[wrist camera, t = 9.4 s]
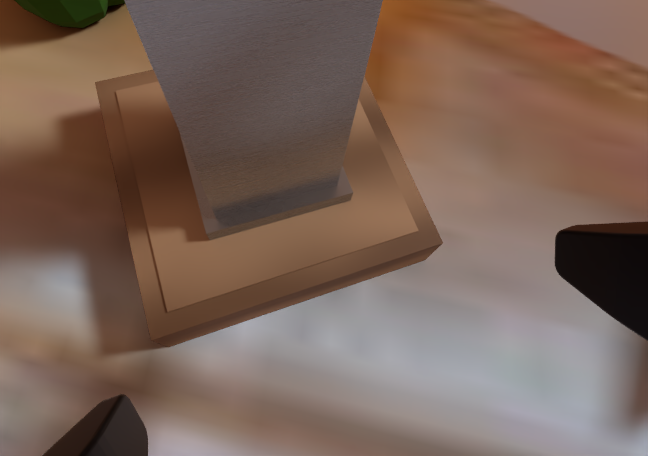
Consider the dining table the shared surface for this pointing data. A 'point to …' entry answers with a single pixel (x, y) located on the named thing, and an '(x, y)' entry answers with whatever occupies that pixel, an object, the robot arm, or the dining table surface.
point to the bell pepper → (69, 10)
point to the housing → (260, 99)
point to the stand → (258, 243)
